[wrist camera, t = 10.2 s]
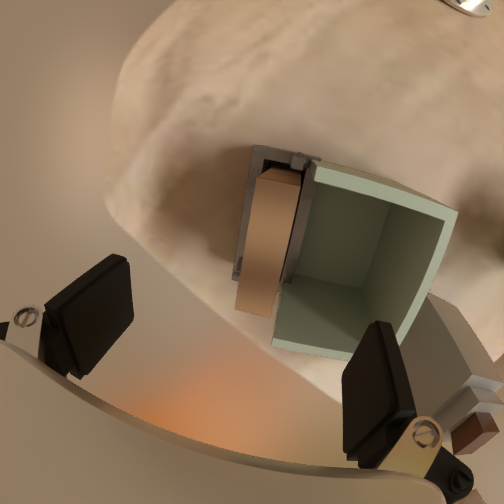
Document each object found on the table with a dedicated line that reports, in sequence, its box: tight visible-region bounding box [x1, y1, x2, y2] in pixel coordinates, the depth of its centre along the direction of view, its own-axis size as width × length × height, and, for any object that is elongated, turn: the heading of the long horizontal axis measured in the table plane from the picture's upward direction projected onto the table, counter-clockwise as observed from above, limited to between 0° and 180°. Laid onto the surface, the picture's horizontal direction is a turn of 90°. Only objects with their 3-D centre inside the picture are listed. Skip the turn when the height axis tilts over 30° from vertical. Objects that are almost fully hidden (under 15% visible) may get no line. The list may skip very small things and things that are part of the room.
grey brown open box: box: [232, 145, 321, 292], centre depth 21 cm, size 13×6×11 cm, turn 170°
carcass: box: [271, 160, 458, 361], centre depth 20 cm, size 12×9×11 cm
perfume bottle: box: [399, 293, 504, 455], centre depth 19 cm, size 7×7×18 cm
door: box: [235, 166, 301, 318], centre depth 21 cm, size 9×3×10 cm, turn 171°
